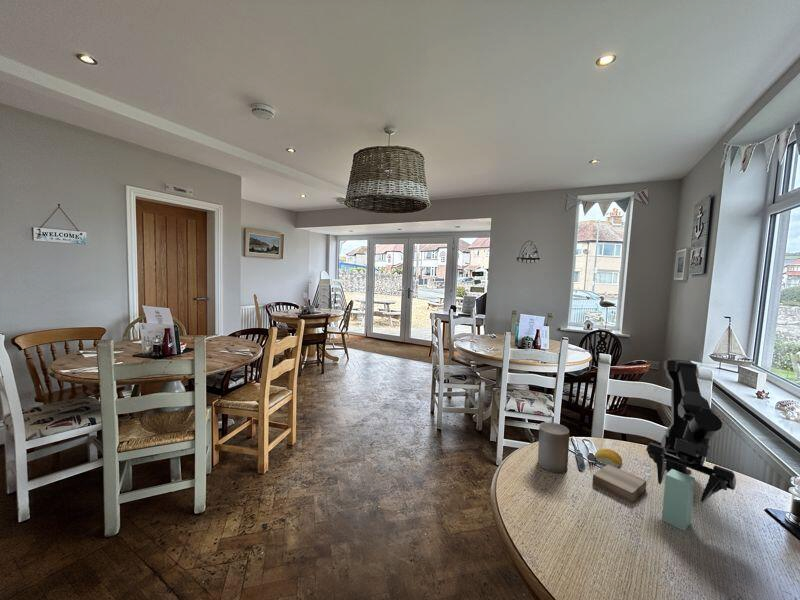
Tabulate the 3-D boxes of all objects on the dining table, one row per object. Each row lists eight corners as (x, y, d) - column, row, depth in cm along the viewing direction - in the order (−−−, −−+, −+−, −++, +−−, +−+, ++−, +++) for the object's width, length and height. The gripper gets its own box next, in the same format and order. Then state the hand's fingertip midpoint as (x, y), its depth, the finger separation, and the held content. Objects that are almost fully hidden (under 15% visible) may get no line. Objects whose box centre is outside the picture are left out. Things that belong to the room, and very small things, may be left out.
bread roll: (623, 461, 122) (624, 450, 121) (618, 471, 115) (619, 460, 115) (597, 452, 127) (598, 442, 127) (591, 461, 121) (592, 450, 120)
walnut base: (607, 472, 113) (608, 464, 113) (645, 489, 105) (646, 480, 104) (592, 483, 107) (593, 474, 107) (631, 502, 98) (632, 493, 98)
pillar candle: (570, 465, 117) (573, 424, 116) (562, 477, 110) (565, 433, 109) (542, 455, 124) (544, 416, 123) (533, 466, 116) (535, 424, 115)
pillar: (667, 512, 94) (671, 468, 94) (690, 523, 90) (694, 477, 89) (661, 519, 92) (665, 474, 91) (684, 531, 88) (689, 484, 87)
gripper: (651, 416, 100) (633, 462, 94) (738, 442, 85) (723, 498, 79) (658, 435, 105) (642, 479, 100) (741, 462, 90) (728, 517, 84)
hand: (679, 492), depth 91 cm, fingers open, 9 cm apart
